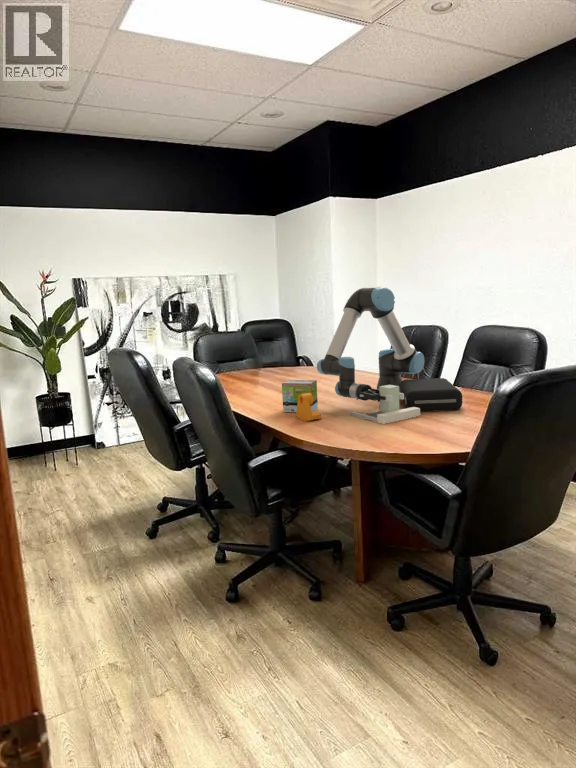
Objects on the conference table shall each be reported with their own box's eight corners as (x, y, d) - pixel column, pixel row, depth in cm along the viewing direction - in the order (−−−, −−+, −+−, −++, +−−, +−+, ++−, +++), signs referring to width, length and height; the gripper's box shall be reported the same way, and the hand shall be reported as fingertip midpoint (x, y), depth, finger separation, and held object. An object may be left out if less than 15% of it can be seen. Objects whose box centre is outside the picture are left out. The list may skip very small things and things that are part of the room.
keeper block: (390, 408, 245) (389, 384, 244) (399, 410, 240) (398, 386, 239) (379, 410, 242) (379, 386, 241) (388, 412, 237) (388, 388, 236)
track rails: (383, 407, 262) (383, 404, 261) (413, 414, 244) (413, 411, 243) (348, 414, 251) (347, 411, 251) (377, 422, 233) (377, 419, 233)
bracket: (322, 419, 245) (321, 393, 243) (308, 422, 241) (307, 395, 239) (310, 415, 254) (308, 390, 252) (296, 418, 251) (295, 392, 249)
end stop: (413, 414, 244) (413, 406, 243) (420, 415, 240) (420, 408, 240) (377, 422, 233) (377, 414, 233) (383, 424, 230) (383, 416, 229)
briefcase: (386, 398, 284) (385, 379, 282) (448, 395, 281) (448, 376, 279) (393, 414, 248) (392, 392, 246) (464, 411, 245) (464, 389, 243)
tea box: (282, 412, 263) (280, 382, 261) (289, 408, 273) (288, 379, 270) (312, 413, 258) (310, 382, 256) (318, 408, 267) (317, 379, 265)
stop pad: (387, 410, 255) (387, 409, 255) (409, 415, 242) (409, 414, 242) (360, 415, 247) (360, 415, 247) (382, 421, 235) (381, 420, 235)
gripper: (376, 396, 261) (413, 402, 242) (346, 402, 250) (382, 409, 231) (375, 381, 260) (412, 386, 241) (345, 386, 249) (381, 392, 230)
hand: (397, 397), depth 236 cm, fingers closed on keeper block, 6 cm apart
